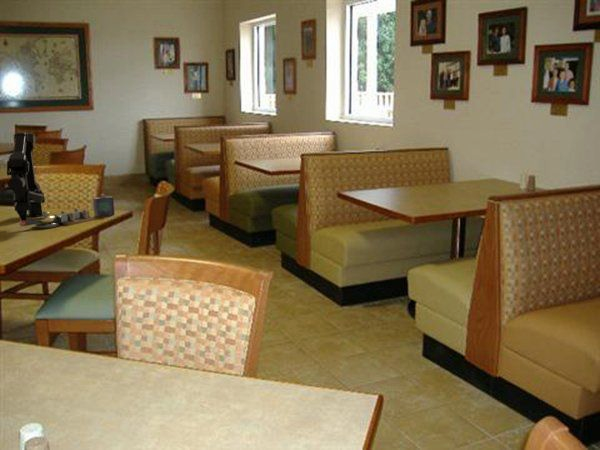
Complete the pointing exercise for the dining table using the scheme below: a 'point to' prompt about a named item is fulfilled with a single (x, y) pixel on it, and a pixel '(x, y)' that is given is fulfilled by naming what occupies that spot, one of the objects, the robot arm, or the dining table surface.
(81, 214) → the spanner
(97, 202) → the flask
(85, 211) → the rack
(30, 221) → the grey red-tipped part
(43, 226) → the nut base
